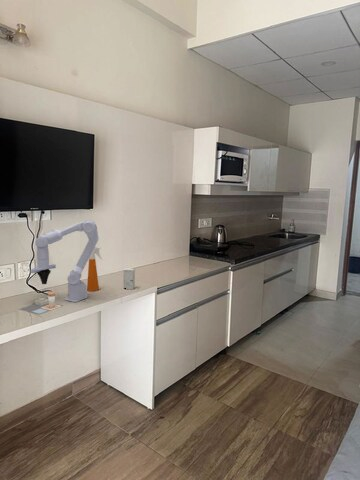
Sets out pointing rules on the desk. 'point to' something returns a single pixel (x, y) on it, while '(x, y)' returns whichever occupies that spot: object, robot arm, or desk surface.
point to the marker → (51, 299)
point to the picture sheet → (39, 308)
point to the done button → (42, 299)
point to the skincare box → (129, 278)
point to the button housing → (41, 302)
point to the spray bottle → (93, 271)
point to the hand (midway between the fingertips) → (44, 283)
